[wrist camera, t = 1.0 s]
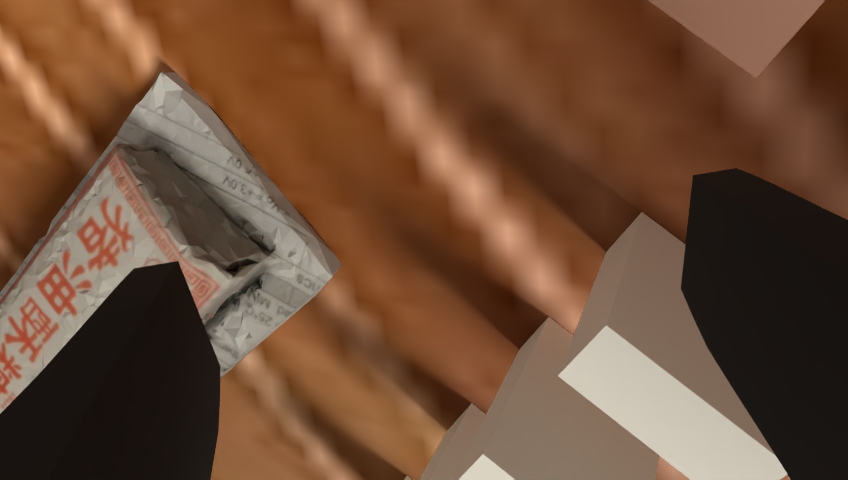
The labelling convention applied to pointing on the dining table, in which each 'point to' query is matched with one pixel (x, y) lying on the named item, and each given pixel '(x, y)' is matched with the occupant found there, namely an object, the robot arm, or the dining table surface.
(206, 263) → the packaged product
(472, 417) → the domino
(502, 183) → the dining table surface
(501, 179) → the dining table surface
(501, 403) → the domino
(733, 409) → the cream white flat block
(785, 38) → the brown rectangular block
